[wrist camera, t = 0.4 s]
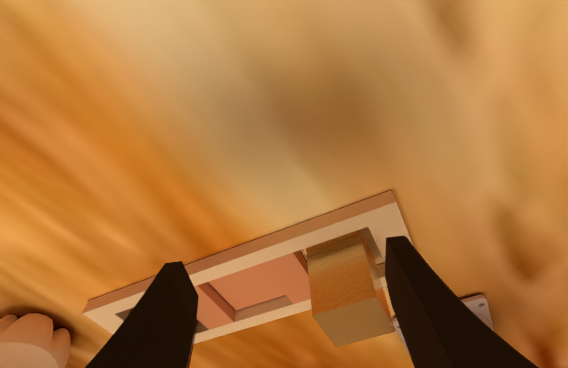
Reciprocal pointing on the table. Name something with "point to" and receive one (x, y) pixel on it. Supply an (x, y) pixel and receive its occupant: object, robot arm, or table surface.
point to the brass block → (347, 290)
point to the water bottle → (32, 342)
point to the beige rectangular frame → (261, 272)
